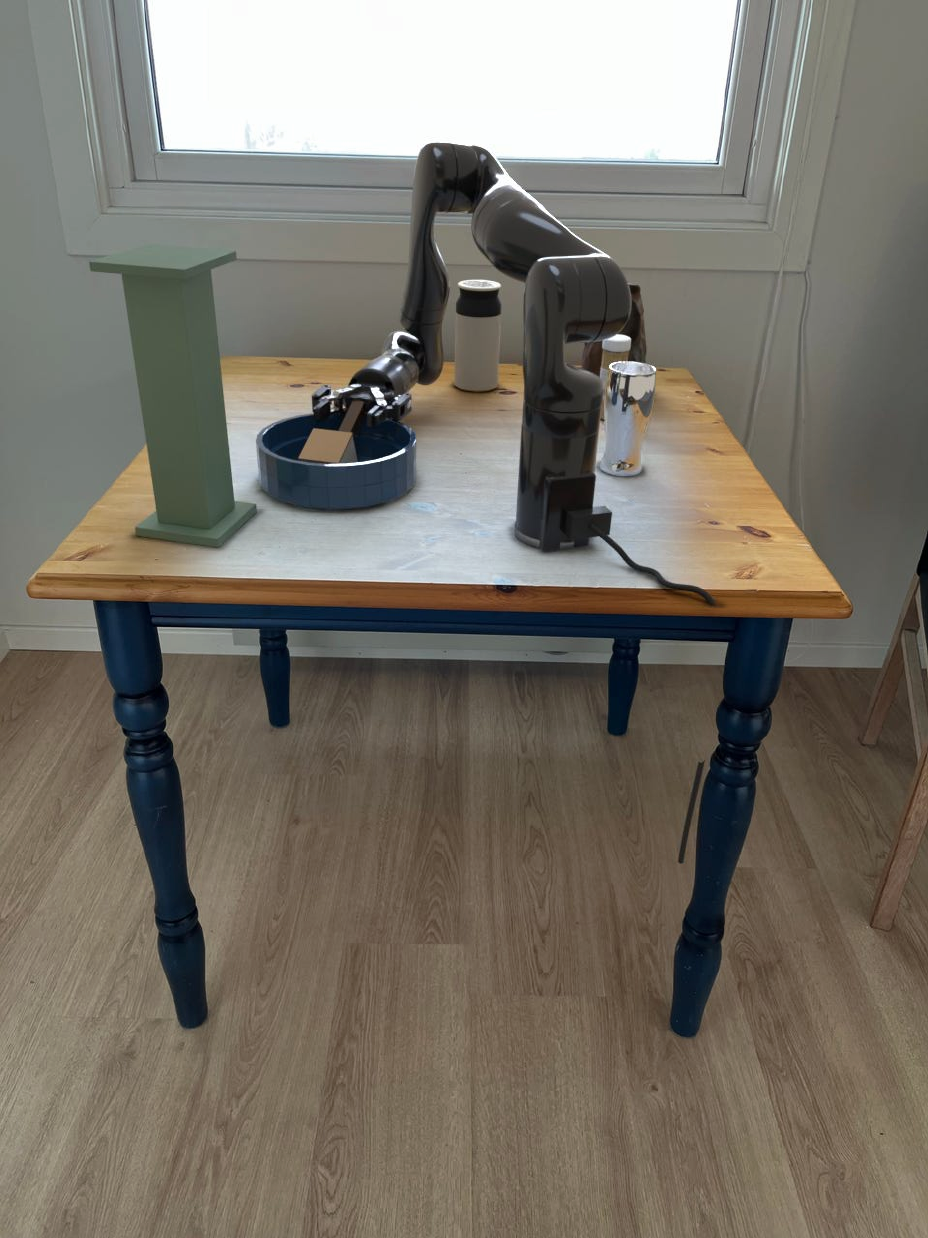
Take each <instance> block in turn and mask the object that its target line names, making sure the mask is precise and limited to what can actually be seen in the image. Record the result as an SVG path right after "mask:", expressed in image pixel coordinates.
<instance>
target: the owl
mask: <svg viewBox="0 0 928 1238" xmlns="http://www.w3.org/2000/svg"><path fill="white" fill-rule="evenodd" d="M628 284H629V287H630V292H631V300H632V305H631V313H630V316H629V319H628V321H627V323H626V325H625V327H624V328H623V329H622V330H621V331H620V332H619V333H618V334H619V335H625V336H628V337H630V338H631V347H630V350H629V353H628V362H640V363H645V364H647V361H646V359H647V357H646V356H647V353H648V351H647V348H648V347H647V342H646V341H647V339H646V338H647V337H646V331H645V330H646V329H645V317H644V312H645V309H644V304H643V297H642V294H641V286H640V285H639V284H634V283H631V282H628ZM602 343H603V341H597V342H587V343H583V344H584V345H583V349H582V354H581V367H580V368H582V369H585V370H588V371H590V372H592V373H594V374H596V375H597V376H599V377H600V370H601V363H602V354H603V348H602Z"/></svg>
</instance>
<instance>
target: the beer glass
mask: <svg viewBox="0 0 928 1238" xmlns="http://www.w3.org/2000/svg"><path fill="white" fill-rule="evenodd" d="M656 381H657V368H656V367H655V366H653V365H651V364H648V363H646V364H645V363H640V362H616V363H613V364H611V365H610V366H609V373H608V378H607V383H606V389H605V398H604V419H605V420H604V431H605V433H604V435H605V444H604V450H603V454H602V456H601V461H600V464H599V467H600V470H601V471H602V472H604V473H606V474H607V475H612V476H616V477H632V476H637V475H639V474H640V473H641V472H642V469H643V465H642V450H643V449H642V448H643V442H644V440H645V435H646V432H647V430H648V426H649V423H650V420H651V416H652V412H653V408H654V402H655V396H656V385H657V384H656Z"/></svg>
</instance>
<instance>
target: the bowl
mask: <svg viewBox="0 0 928 1238" xmlns="http://www.w3.org/2000/svg"><path fill="white" fill-rule="evenodd" d="M345 416H346V414H345V415H338V414H332V415H330V416H329V417H328V418H327V419H325V420H324V421H323V422H322V423H319V422H316V419H314V413H313V412H310V413H305V414H298V415H294V416H289V417H286V418H282V419H280V420H277V421H274V422H272V423H270V424H268V425H267V426H265V427H264V428H262V429H261V430H260V431H259V433H258V434H257V435H256V438H255V449H256V459H257V460H256V461H257V470H258V482H259V484H260V487H261V489H262V490H263V491H264V492H265V493H267V494H268V496H271V497H272V498H275V499H277V500H278V501H280V502H285V503H288V504H291V505H293V506H298V507H302V508H307V509H313V510H315V509H316V510H324V511H325V510H327V511H341V510H342V511H343V510H346V511H347V510H355V509H356V510H357V509H363V508H369V507H374V506H378V505H382V504H384V503H387V502H389V501H392V500H395V499H397V498H399V497H401V496H403V495H405V494H406V493H408V492H409V491H410V490H411V489H412V488H413V487H414V486H415V483H416V481H417V435H416V432H415V431H414V430H413V429H412V428H411V427H410V426H408V425H407V424H405V423H404V422H402V421H399V422H394V421H392V418H387V421H386V422H381V423H380V424H379V425H377V426H375V427H374V428H373V429H372V428H367V416H366V418H365V420H364V422H363V424H362V426H361V429H360V431H359V433H358V435H357V437H356V439H355V442H354V446H355V451H356V456H357V461H358V463H349V464H318V463H308V462H302V461H299V459H298V458H299V456H300V454H301V452H302V450H303V448H304V446H305V444H306V442H307V440H308V438H309V436H310V434H311V432H312V430H313V428H315V429H324V430H333V431H338V430H339V428H340V426H341V424H342V422H343V420H344V418H345Z"/></svg>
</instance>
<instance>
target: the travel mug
mask: <svg viewBox="0 0 928 1238" xmlns="http://www.w3.org/2000/svg"><path fill="white" fill-rule="evenodd" d="M457 287H458V288H459V296H458V298H457V300H456V302H455V330H454V331H455V333H454V334H455V335H454V372H453V373H454V375H453V376H454V377H453V378H454V379H453V385H454V386H455V387H456V388H458V389H460V390H462V391H465V392H472V393H473V392H474V393H475V392H476V393H482V392H483V393H484V392H489V391H491V390H492V391H493V390H494V389H496V388H497V387H498V386H499V385H498V384H499V365H500V347H501V346H500V345H501V323H502V306H503V305H502V302H501V300H500V297H499V292H500V288H502V284H501V283H499V282H497V281H495V280H494V281H493V280H489V279H466V280H461V281H459V282H458V283H457Z"/></svg>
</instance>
